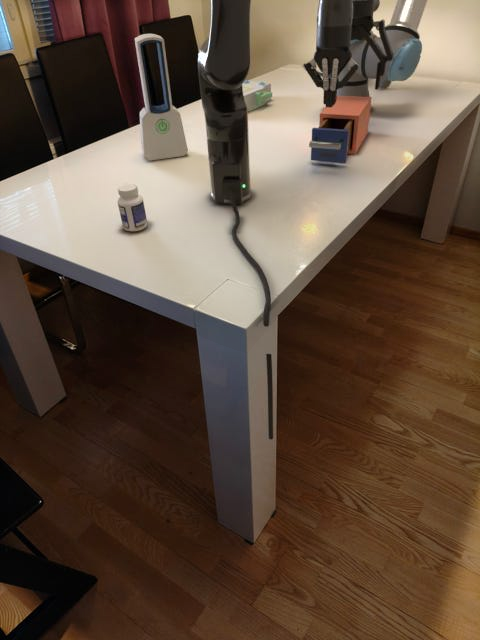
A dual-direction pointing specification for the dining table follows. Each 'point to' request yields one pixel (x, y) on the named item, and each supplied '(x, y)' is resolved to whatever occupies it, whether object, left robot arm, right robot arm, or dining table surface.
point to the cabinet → (351, 116)
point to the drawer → (332, 140)
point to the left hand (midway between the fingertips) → (329, 106)
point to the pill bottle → (131, 208)
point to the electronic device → (159, 110)
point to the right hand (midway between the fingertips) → (352, 87)
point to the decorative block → (256, 94)
